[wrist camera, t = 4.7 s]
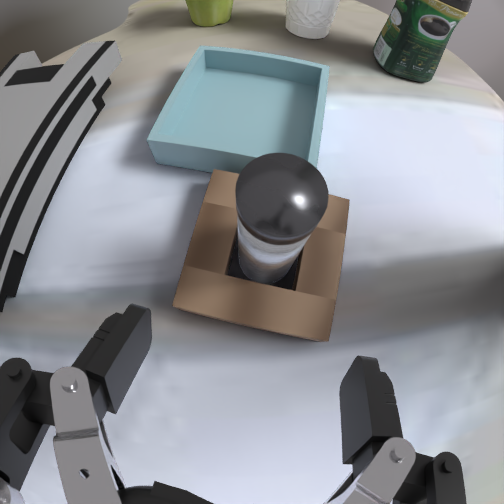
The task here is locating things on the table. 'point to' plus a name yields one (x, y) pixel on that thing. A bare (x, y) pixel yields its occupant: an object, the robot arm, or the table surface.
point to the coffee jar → (418, 36)
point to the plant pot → (209, 11)
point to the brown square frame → (257, 294)
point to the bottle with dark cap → (276, 213)
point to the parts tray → (240, 110)
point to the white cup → (310, 17)
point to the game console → (42, 140)
